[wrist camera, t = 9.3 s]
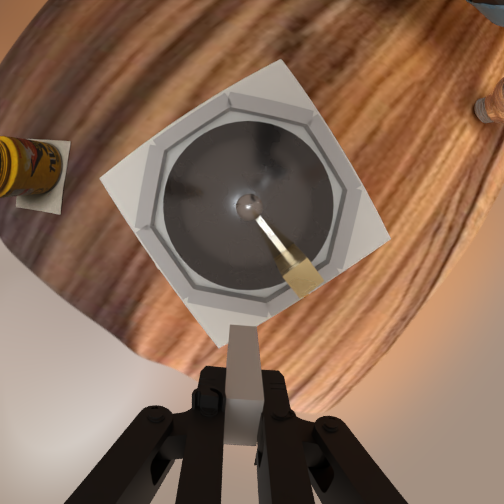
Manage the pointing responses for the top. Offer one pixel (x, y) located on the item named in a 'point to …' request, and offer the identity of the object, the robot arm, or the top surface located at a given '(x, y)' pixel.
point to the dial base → (194, 125)
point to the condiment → (33, 172)
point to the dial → (249, 207)
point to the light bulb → (492, 105)
